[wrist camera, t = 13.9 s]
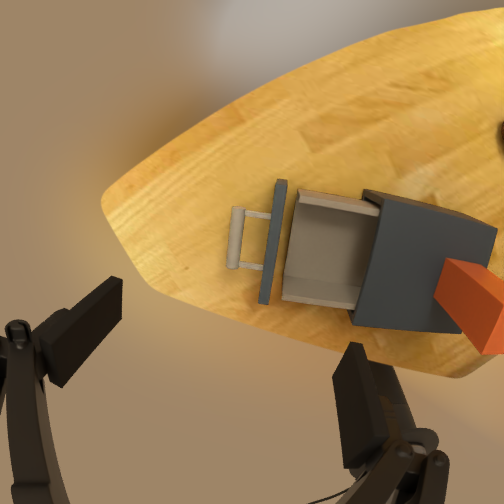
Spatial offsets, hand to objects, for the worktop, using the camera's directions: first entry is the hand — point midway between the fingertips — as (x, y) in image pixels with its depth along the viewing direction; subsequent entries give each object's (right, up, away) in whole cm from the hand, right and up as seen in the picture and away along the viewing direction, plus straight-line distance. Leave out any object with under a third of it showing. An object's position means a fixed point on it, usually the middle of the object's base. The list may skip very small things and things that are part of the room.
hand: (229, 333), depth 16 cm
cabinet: (+23, +4, +22) cm, 32 cm away
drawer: (+9, +6, +22) cm, 25 cm away
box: (+26, +1, +13) cm, 29 cm away
